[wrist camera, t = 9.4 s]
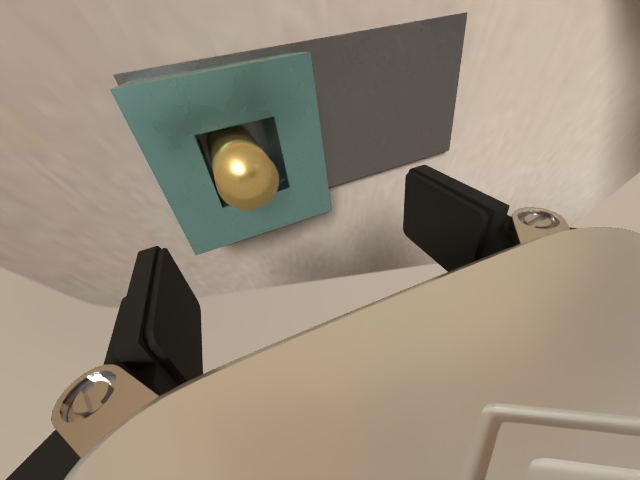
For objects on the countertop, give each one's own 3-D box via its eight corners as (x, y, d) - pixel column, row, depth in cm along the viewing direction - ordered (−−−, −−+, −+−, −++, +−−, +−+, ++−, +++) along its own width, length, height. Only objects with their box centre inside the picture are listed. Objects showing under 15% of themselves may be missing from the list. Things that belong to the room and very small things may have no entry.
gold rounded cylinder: (248, 118, 22) (271, 144, 16) (258, 163, 24) (283, 201, 18) (200, 128, 21) (206, 159, 15) (216, 173, 23) (227, 217, 17)
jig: (458, 13, 25) (521, 4, 20) (442, 147, 32) (486, 163, 27) (116, 74, 19) (93, 80, 14) (190, 225, 26) (191, 262, 21)
